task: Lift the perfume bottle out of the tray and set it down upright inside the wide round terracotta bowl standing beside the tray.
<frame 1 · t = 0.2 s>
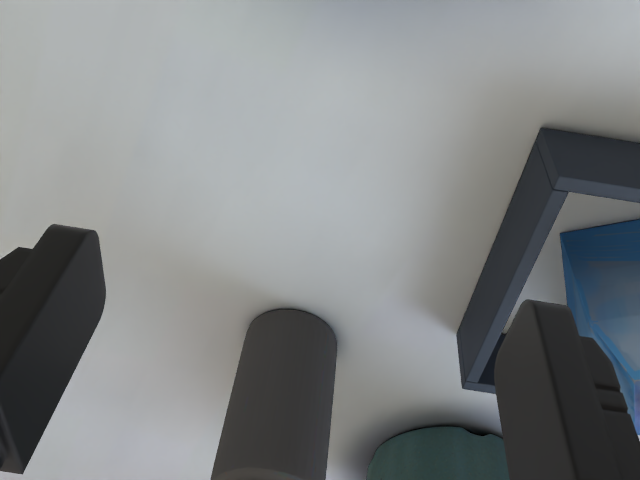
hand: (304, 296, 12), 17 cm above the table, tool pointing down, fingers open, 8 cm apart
tray: (625, 266, 33), on the table
perfume bottle: (624, 264, 33), resting in tray
bottle: (292, 337, 39), on the table
flower pot: (445, 466, 47), on the table
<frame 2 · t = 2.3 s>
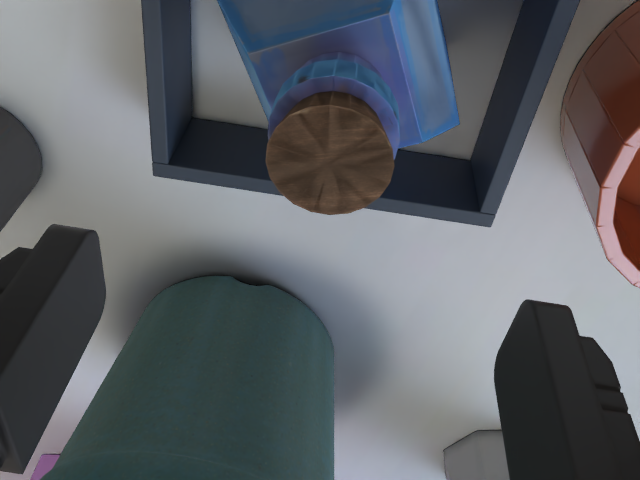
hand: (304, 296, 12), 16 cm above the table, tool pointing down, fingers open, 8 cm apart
coffee maker: (500, 467, 45), on the table
flower pot: (236, 339, 38), on the table
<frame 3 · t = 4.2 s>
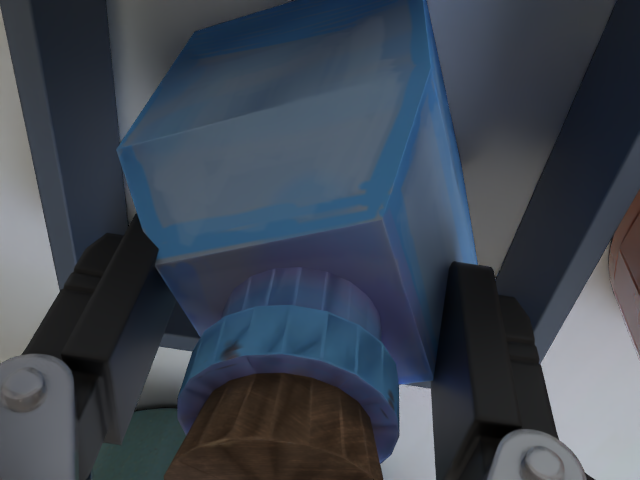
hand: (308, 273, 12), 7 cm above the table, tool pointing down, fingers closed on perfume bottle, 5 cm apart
tray: (335, 103, 18), on the table
perfume bottle: (336, 100, 18), resting in tray, touching gripper
flower pot: (200, 469, 32), on the table
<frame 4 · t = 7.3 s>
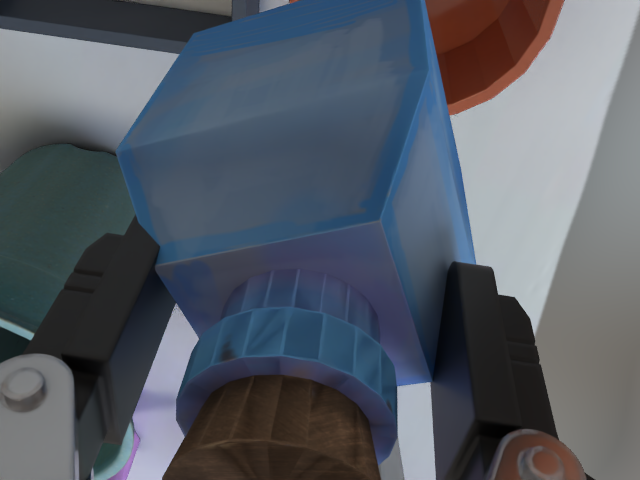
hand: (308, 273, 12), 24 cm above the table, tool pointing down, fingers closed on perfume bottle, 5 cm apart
coffee maker: (352, 344, 50), on the table
perfume bottle: (335, 101, 18), point 16 cm above the table, touching gripper
teapot: (61, 394, 58), on the table
flower pot: (92, 213, 43), on the table
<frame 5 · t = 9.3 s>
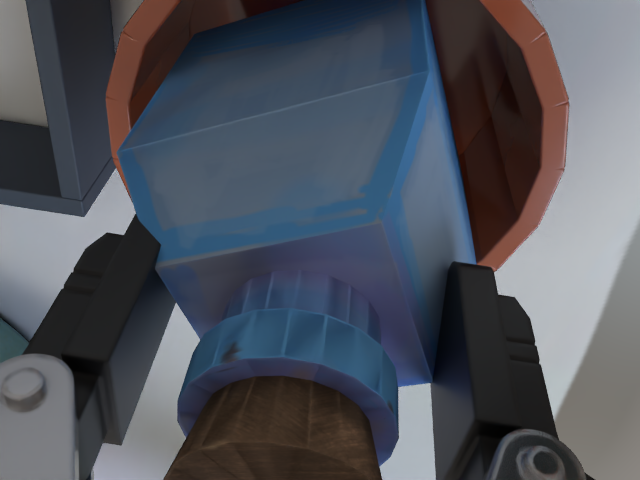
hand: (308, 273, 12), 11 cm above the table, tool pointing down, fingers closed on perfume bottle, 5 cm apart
round terracotta bowl: (346, 58, 20), on the table
perfume bottle: (335, 102, 18), point 3 cm above the table, touching gripper
when the fingers open (8 cm above the table, at t = 10.6 s): perfume bottle stays where it is, resting on round terracotta bowl.
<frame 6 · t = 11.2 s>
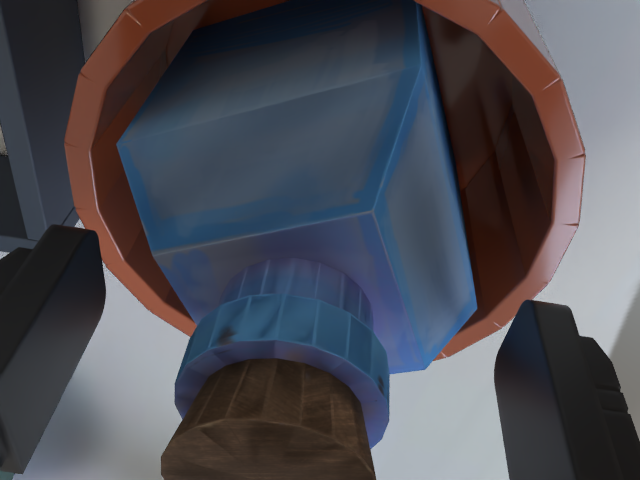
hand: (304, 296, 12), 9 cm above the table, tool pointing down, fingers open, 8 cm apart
round terracotta bowl: (337, 87, 19), on the table
perfume bottle: (332, 98, 18), point 1 cm above the table, touching round terracotta bowl
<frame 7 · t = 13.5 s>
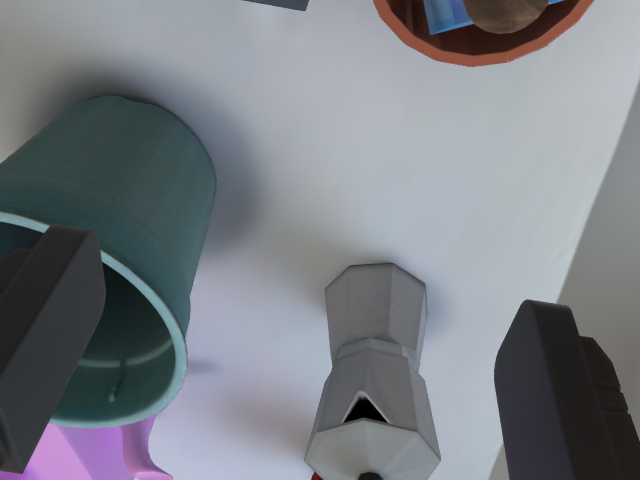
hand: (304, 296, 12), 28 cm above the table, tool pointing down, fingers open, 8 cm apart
coffee maker: (377, 309, 51), on the table
teapot: (84, 357, 59), on the table
flower pot: (133, 168, 44), on the table
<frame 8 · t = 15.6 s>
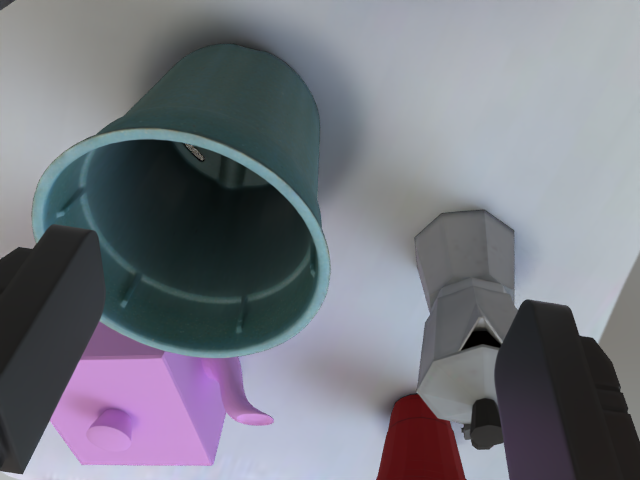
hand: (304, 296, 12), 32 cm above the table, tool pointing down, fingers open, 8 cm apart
coffee maker: (463, 258, 53), on the table
teapot: (169, 314, 61), on the table
plastic cup: (417, 408, 67), on the table
flower pot: (238, 118, 46), on the table
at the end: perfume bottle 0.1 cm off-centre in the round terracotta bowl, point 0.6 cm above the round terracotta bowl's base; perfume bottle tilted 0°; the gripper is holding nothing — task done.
